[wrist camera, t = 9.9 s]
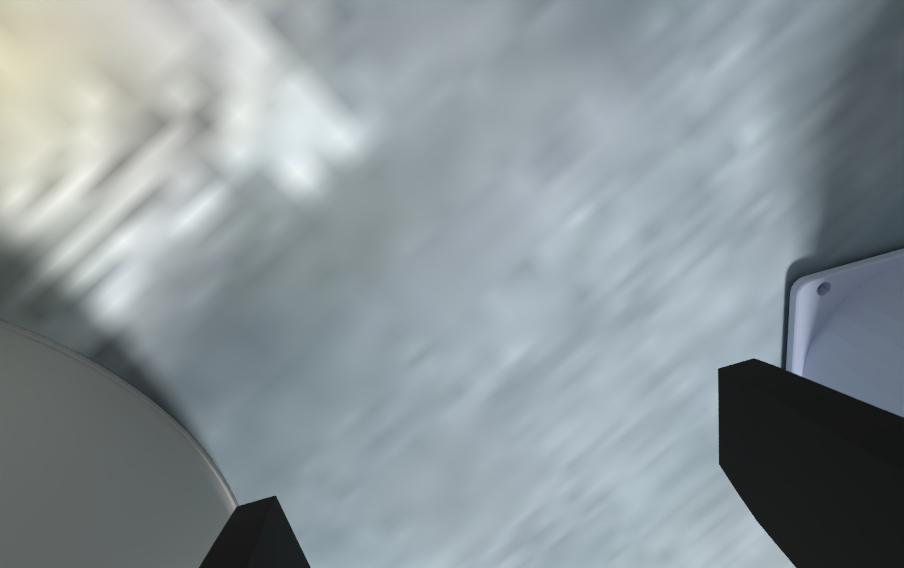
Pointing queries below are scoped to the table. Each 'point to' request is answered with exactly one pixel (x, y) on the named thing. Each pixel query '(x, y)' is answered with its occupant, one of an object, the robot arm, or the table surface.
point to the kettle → (96, 468)
